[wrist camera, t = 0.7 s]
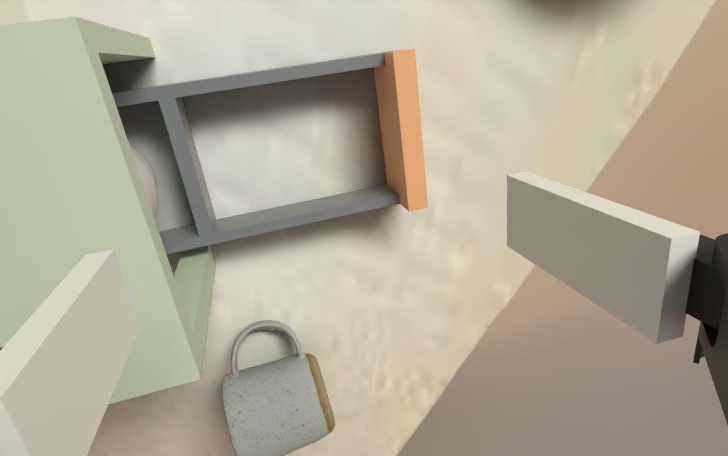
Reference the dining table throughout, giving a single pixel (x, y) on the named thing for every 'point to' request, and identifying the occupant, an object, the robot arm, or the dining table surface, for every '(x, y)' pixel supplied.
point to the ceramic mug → (275, 401)
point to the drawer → (402, 188)
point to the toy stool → (88, 198)
